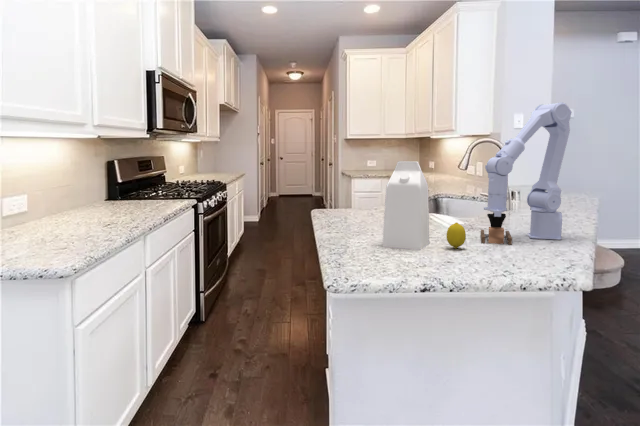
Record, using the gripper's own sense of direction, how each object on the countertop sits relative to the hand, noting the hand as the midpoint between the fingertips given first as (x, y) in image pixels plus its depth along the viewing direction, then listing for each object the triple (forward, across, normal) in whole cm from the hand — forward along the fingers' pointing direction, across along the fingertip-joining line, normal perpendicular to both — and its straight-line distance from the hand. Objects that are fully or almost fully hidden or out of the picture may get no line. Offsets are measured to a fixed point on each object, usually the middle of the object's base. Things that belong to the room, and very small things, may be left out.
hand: (495, 235), depth 158 cm
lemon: (+2, +18, -12) cm, 21 cm away
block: (+1, +4, 0) cm, 4 cm away
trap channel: (+1, 0, 0) cm, 1 cm away
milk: (+2, +16, -27) cm, 31 cm away
